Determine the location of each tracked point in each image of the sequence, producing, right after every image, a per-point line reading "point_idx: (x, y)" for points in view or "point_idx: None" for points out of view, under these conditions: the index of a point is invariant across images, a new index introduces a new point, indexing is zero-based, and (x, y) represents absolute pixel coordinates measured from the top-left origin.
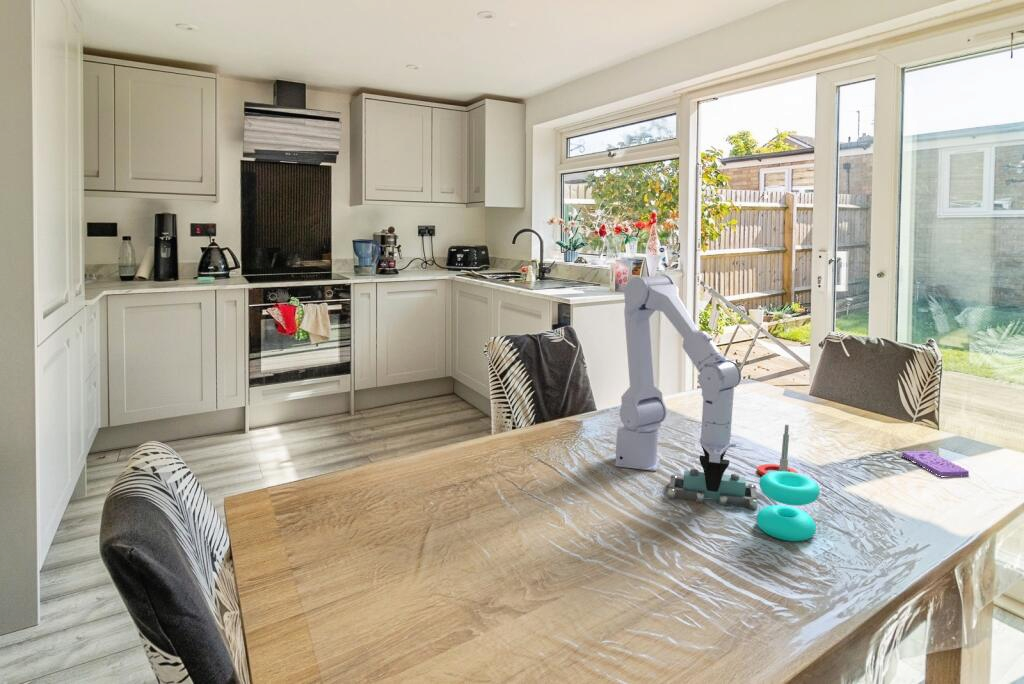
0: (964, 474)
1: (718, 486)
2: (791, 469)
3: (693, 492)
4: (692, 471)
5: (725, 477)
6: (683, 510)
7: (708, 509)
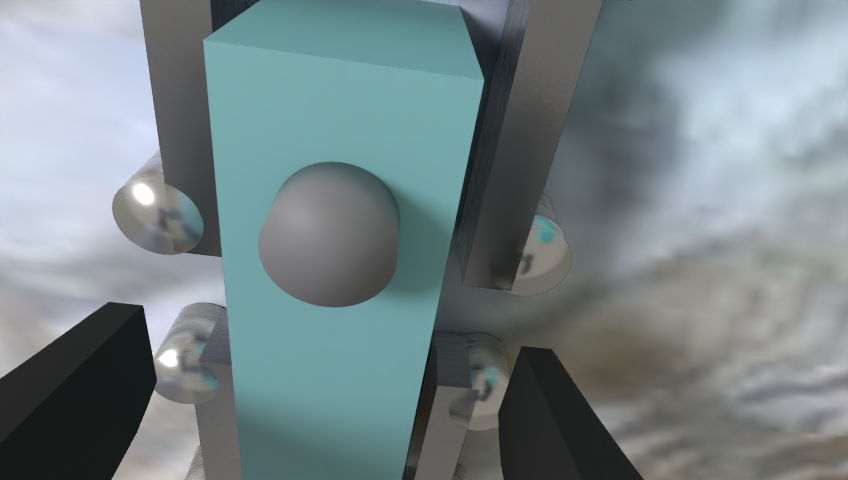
0: None
1: (582, 399)
2: None
3: (460, 438)
4: None
5: (316, 320)
6: (616, 438)
7: (607, 320)
